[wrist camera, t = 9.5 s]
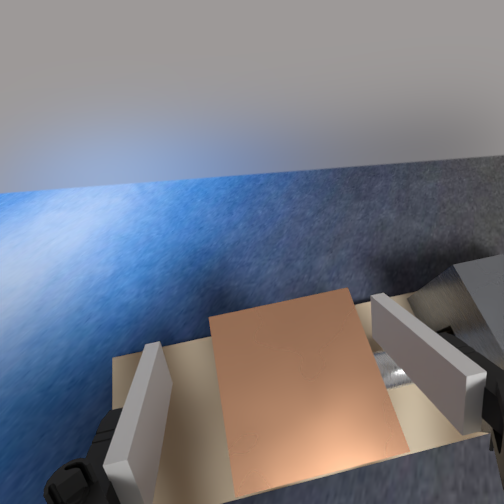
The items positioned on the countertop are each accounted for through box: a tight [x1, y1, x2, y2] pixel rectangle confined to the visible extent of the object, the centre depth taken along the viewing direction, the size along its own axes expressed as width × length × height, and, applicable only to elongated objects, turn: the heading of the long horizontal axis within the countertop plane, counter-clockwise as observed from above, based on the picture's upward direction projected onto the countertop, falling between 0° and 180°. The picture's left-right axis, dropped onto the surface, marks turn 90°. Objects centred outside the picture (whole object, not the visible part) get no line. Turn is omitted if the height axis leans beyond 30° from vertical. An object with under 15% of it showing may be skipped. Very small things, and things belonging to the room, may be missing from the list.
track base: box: [112, 291, 488, 504], centre depth 22 cm, size 34×10×1 cm, turn 102°
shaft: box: [209, 288, 455, 498], centre depth 15 cm, size 21×4×14 cm, turn 102°
